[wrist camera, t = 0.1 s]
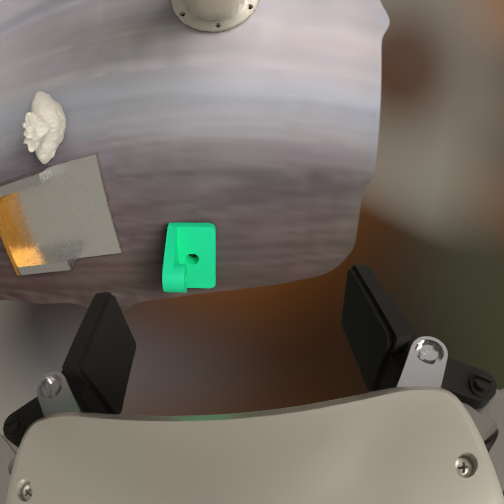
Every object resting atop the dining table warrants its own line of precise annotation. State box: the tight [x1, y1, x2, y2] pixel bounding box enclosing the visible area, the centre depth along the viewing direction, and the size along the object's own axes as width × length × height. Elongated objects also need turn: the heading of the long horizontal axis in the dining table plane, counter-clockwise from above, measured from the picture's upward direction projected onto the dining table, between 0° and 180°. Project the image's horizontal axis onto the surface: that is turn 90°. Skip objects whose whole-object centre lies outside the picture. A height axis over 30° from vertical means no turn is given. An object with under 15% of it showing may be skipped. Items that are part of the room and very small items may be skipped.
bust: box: [22, 91, 66, 164], centre depth 34 cm, size 12×8×11 cm
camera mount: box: [162, 223, 216, 292], centre depth 48 cm, size 12×8×10 cm, turn 176°
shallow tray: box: [0, 153, 123, 275], centre depth 44 cm, size 18×24×5 cm
